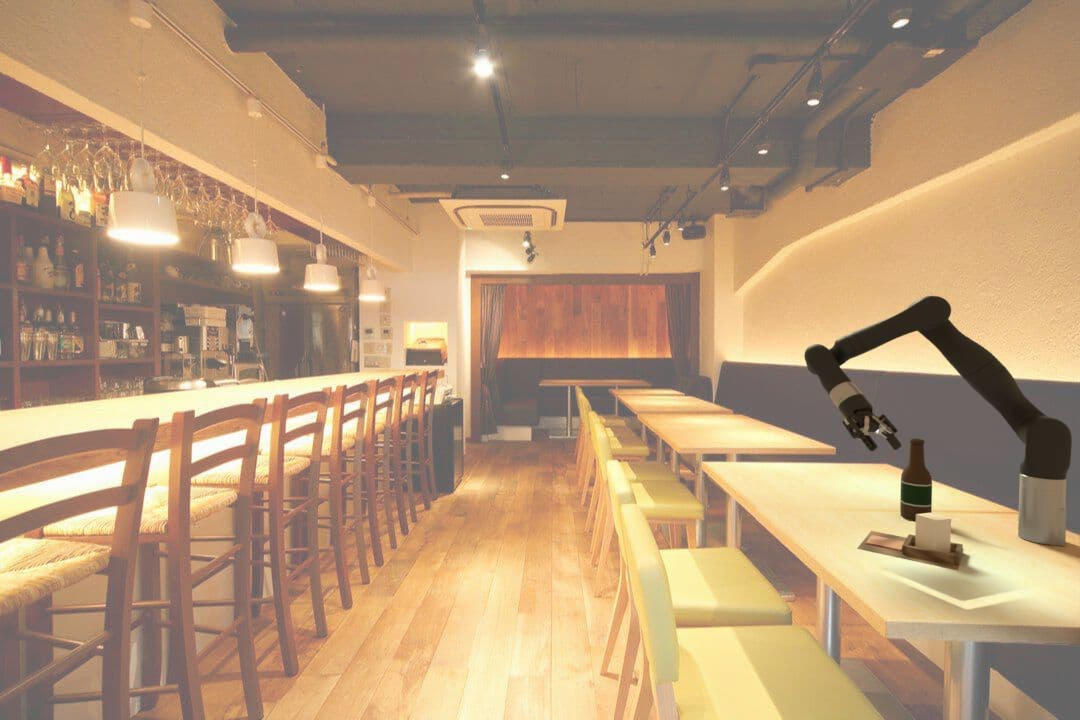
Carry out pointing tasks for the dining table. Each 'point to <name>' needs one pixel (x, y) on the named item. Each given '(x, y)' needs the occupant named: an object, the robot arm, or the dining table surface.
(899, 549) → the puzzle board
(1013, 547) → the dining table surface
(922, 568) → the dining table surface
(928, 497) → the beer bottle
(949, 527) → the cream block
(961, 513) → the dining table surface
